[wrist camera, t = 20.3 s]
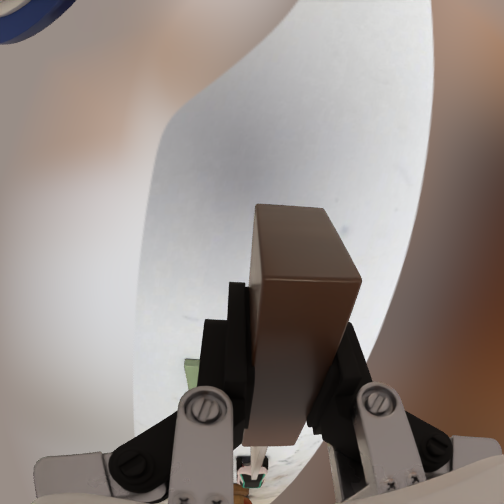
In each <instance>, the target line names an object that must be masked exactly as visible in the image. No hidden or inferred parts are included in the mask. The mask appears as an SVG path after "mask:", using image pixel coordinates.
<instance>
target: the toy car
mask: <svg viewBox="0 0 504 504" xmlns="http://www.w3.org/2000/svg"><path fill="white" fill-rule="evenodd" d="M267 470H268V458H264V460H263V463H262V466H261V468H260V471H259V474H258V477H257V480H252V479H251V463H248V464H245V463H242V458H237V483H238V484H239V485H241V486H242V487H243V488H260V487H261V485H262V484H264V483H265V476H266V475H267V473H268V471H267Z"/></svg>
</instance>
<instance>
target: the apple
mask: <svg viewBox="0 0 504 504" xmlns="http://www.w3.org/2000/svg"><path fill="white" fill-rule="evenodd" d="M244 504H252V502H251V501H250V500H249V499H248V498H247V497H244Z"/></svg>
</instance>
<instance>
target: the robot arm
mask: <svg viewBox="0 0 504 504" xmlns="http://www.w3.org/2000/svg"><path fill="white" fill-rule="evenodd" d="M30 1H31V0H0V17H4V16H7V15H10V14H12V13H14V12H16V11H17V10H19V9H20V8H22V7H23V6H25V5H26V4H27V3H28V2H30ZM254 386H255V367H253V366H252V362H251V332H250V301H249V287H245V283H242V282H229V296H228V315H227V320H212V319H205V322H204V330H203V338H202V346H201V354H200V363H199V372H198V381H197V387H195V388H192V389H190V390H189V391H187V392H186V393H185V394H184V395H183V396H182V397H181V399H180V402H179V405H178V411H176V412H175V413H173V414H172V415H170V416H169V417H167V418H165V419H164V420H162V421H161V422H159V423H158V424H156V425H154V426H153V427H151V428H150V429H148V430H146V431H145V432H143V433H141V434H140V435H138V436H137V437H135V438H133V439H132V440H130V441H128V442H127V443H125V444H123V445H121V446H120V447H118V448H117V449H116V450H115V451H113V452H111V453H104V454H102V452H93V453H84V454H73V455H61V456H47V457H43V458H41V459H40V460H38V461H37V462H36V465H35V466H34V472H33V476H34V484H35V491H36V497H37V499H36V500H34V501H33V502H32V503H31V504H154V503H159V502H161V501H164V500H165V499H167V498H168V504H234V500H233V450H234V449H235V448H237V447H238V446H239V445H240V444H241V443H242V441H243V433H244V429H248V426H249V420H250V413H251V406H252V400H253V393H254ZM306 420H307V425H308V427H313V433H314V435H318V434H322V439H323V440H324V441H325V442H327V443H328V452H329V458H330V464H331V471H332V477H333V484H334V490H335V496H336V504H504V455H502V450H501V447H500V445H499V443H498V442H497V441H496V440H494V439H491V438H479V437H466V436H452V437H451V438H449V437H448V435H446V434H445V433H444V432H442V431H440V430H439V429H437V428H435V427H433V426H432V425H430V424H428V423H426V422H424V421H423V420H421V419H419V418H417V417H415V416H414V415H412V414H410V413H408V412H407V411H405V410H404V407H403V405H402V402H401V399H400V397H399V395H398V393H397V392H396V391H395V390H394V388H392V387H391V386H389V385H387V384H385V383H382V382H372V379H371V376H370V373H369V370H368V367H367V364H366V361H365V358H364V355H363V353H362V350H361V347H360V344H359V341H358V339H357V336H356V333H355V331H354V328H353V326H352V324H351V323H350V322H348V324H347V326H346V329H345V332H344V334H343V337H342V340H341V342H340V345H339V347H338V350H337V352H336V355H335V357H334V360H333V362H332V365H331V366H330V368H329V370H328V373H327V375H326V377H325V380H324V382H323V384H322V387H321V389H320V391H319V393H318V396H317V398H316V400H315V402H314V404H313V407H312V409H311V411H310V413H309V415H308V417H307V419H306Z"/></svg>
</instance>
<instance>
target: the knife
mask: <svg viewBox="0 0 504 504" xmlns="http://www.w3.org/2000/svg"><path fill="white" fill-rule="evenodd" d="M361 283H362V278H361V276H360V274H359V272H358V270H357V268H356V266H355V265H354V263H353V261H352V259H351V257H350V255H349V253H348V251H347V249H346V248H345V246H344V244H343V242H342V240H341V238H340V237H339V235H338V233H337V231H336V229H335V227H334V226H333V224H332V222H331V220H330V219H329V217H328V215H327V213H326V212H325V210H324V209H323V208H314V207H301V206H286V205H271V204H256V205H255V213H254V225H253V238H252V250H251V262H250V275H249V301H250V332H251V362H252V366H253V367H255V386H254V393H253V400H252V406H251V413H250V420H249V426H248V429H244V433H243V441H242V446H247V447H250V448H251V479H252V480H257V477H258V474H259V471H260V468H261V466H262V463H263V460H264V457H265V454H266V451H267V448H268V446H291V445H294V444H295V443H296V441H297V439H298V437H299V435H300V433H301V431H302V429H303V427H304V425H305V423H306V419H307V417H308V415H309V413H310V411H311V409H312V407H313V404H314V402H315V400H316V398H317V396H318V393H319V391H320V389H321V387H322V384H323V382H324V380H325V377H326V375H327V373H328V370H329V368H330V366H331V365H332V362H333V360H334V357H335V355H336V352H337V350H338V347H339V345H340V342H341V340H342V337H343V334H344V332H345V329H346V326H347V324H348V321H349V318H350V315H351V313H352V310H353V307H354V304H355V301H356V298H357V295H358V292H359V289H360V286H361Z"/></svg>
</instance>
